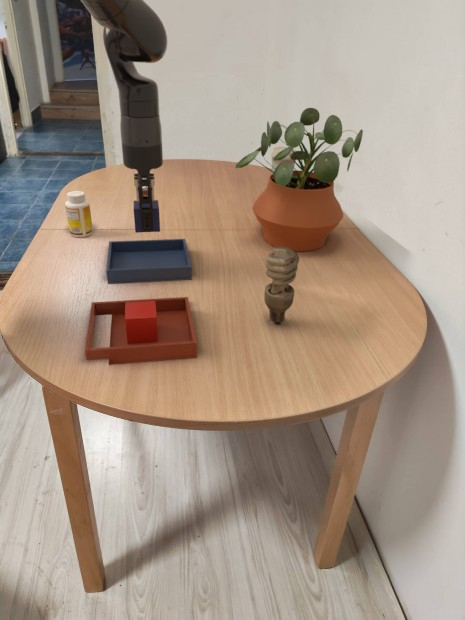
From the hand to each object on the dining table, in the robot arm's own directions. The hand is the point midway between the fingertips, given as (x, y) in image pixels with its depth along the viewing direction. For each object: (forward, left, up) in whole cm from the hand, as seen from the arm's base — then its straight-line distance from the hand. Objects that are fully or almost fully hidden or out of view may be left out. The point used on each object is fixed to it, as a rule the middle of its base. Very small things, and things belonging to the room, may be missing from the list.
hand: (147, 224), depth 94 cm
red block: (-2, -26, -9) cm, 28 cm away
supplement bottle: (-16, +19, -10) cm, 27 cm away
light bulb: (+22, -25, -10) cm, 35 cm away
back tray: (0, 0, -10) cm, 10 cm away
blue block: (0, 0, -1) cm, 1 cm away
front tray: (-2, -26, -10) cm, 28 cm away
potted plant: (+34, +11, -10) cm, 37 cm away
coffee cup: (+45, +53, -10) cm, 70 cm away
